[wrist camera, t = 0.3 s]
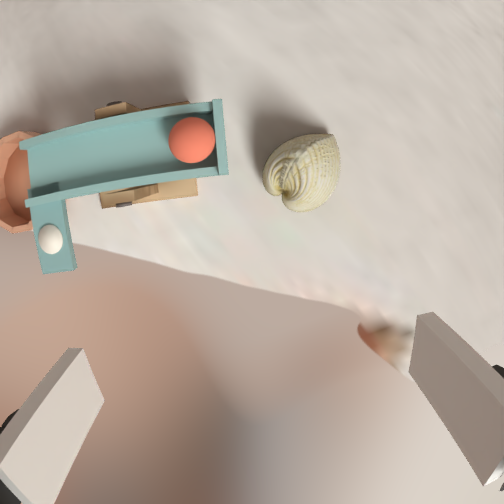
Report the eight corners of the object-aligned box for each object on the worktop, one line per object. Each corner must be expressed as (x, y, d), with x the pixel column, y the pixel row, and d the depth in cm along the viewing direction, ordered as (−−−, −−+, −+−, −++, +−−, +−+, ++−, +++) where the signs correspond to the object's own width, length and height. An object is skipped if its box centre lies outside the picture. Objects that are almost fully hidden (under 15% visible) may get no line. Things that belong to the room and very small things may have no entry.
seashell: (237, 181, 34) (270, 119, 29) (278, 165, 40) (309, 115, 35) (294, 231, 32) (337, 172, 27) (326, 207, 38) (363, 158, 33)
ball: (164, 123, 26) (168, 115, 23) (207, 119, 28) (218, 111, 24) (168, 166, 27) (173, 164, 24) (211, 161, 29) (222, 159, 25)
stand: (95, 121, 34) (57, 112, 25) (189, 102, 33) (171, 83, 25) (104, 207, 36) (67, 220, 28) (198, 195, 36) (182, 204, 27)
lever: (27, 144, 26) (11, 142, 22) (219, 106, 28) (221, 98, 25) (46, 271, 29) (33, 281, 26) (233, 247, 32) (236, 257, 28)
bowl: (0, 146, 33) (-19, 147, 29) (65, 123, 33) (46, 120, 29) (10, 230, 37) (-9, 237, 32) (74, 218, 37) (57, 225, 32)
